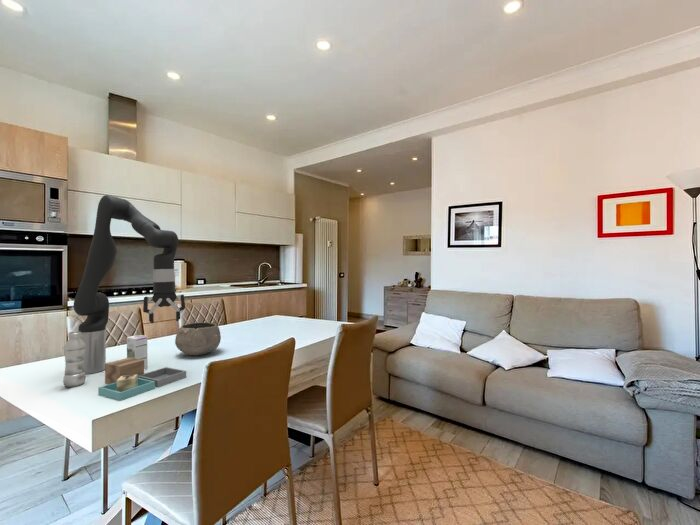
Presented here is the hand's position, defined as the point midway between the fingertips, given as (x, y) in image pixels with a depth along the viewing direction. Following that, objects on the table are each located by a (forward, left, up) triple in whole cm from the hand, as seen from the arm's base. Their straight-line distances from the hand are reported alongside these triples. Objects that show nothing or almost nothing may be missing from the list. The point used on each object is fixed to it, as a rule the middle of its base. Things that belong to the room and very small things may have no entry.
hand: (165, 322), depth 129 cm
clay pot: (-20, +33, -23) cm, 45 cm away
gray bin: (0, -1, -23) cm, 23 cm away
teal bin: (0, -14, -23) cm, 27 cm away
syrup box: (-23, +4, -23) cm, 33 cm away
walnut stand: (-11, -8, -23) cm, 27 cm away
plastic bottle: (-25, -18, -23) cm, 38 cm away
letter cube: (0, -14, -22) cm, 26 cm away
